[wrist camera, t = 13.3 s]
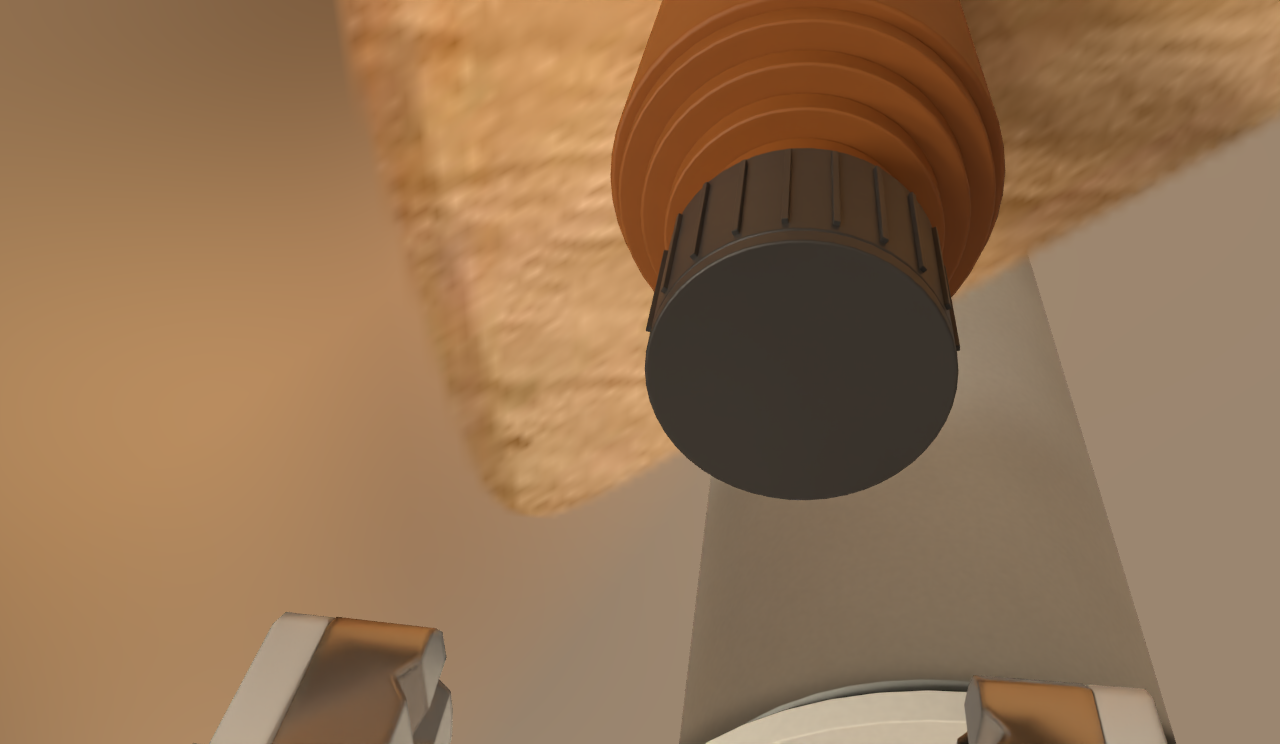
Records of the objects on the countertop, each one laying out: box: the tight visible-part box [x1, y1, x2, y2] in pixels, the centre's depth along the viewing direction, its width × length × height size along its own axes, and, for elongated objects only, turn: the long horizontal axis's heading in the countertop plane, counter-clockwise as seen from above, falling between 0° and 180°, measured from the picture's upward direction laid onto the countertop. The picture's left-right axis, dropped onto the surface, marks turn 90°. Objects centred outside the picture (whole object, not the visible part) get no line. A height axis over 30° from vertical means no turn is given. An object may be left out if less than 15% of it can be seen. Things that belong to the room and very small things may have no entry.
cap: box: [645, 148, 960, 500], centre depth 17 cm, size 4×4×3 cm
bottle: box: [611, 0, 1005, 297], centre depth 24 cm, size 6×6×19 cm
